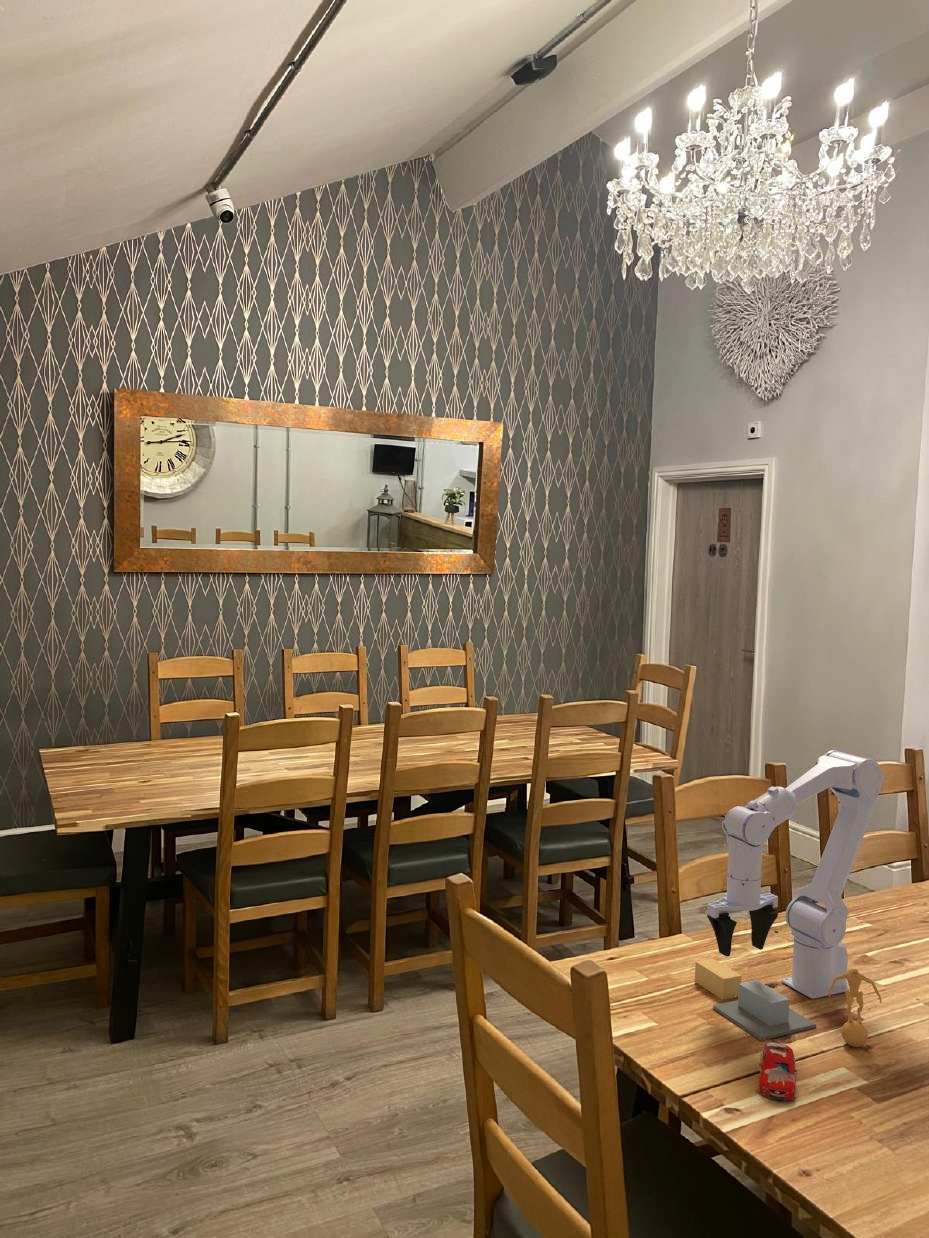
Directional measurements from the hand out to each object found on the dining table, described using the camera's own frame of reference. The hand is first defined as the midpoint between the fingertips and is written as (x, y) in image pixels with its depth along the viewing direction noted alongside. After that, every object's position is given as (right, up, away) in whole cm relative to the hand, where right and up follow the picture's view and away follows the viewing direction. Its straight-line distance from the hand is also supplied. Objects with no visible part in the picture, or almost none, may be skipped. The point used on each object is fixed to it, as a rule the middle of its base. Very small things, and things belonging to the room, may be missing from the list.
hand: (741, 950), depth 168 cm
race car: (-2, -11, -25) cm, 27 cm away
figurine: (+15, -11, -13) cm, 22 cm away
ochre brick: (-3, -9, +6) cm, 11 cm away
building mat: (+2, -10, -5) cm, 11 cm away
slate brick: (+2, -9, -5) cm, 11 cm away
